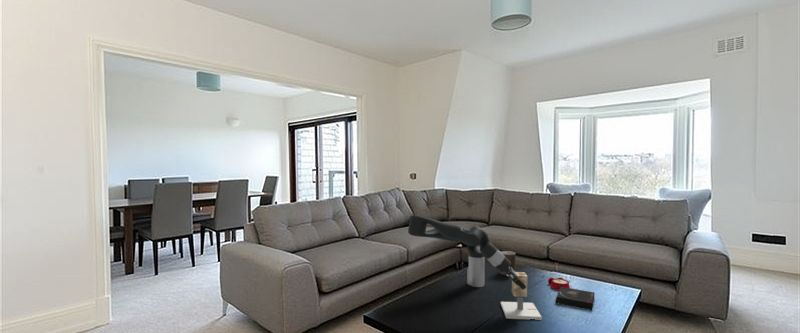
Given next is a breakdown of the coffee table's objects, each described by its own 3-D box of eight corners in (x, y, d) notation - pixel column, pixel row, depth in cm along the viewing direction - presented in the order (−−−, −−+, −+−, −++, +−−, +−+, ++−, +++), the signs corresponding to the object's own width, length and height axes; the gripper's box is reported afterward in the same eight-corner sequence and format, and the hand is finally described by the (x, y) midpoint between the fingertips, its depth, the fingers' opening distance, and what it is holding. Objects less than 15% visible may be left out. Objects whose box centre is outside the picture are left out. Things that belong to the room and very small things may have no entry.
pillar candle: (516, 276, 229) (516, 253, 229) (500, 275, 231) (500, 252, 231) (514, 272, 239) (515, 249, 239) (499, 271, 241) (499, 248, 241)
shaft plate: (506, 318, 171) (506, 302, 171) (500, 304, 187) (500, 290, 187) (541, 320, 170) (541, 304, 169) (532, 305, 186) (533, 291, 185)
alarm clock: (556, 285, 204) (545, 271, 218) (555, 295, 206) (544, 280, 220) (574, 285, 204) (562, 271, 219) (573, 295, 206) (560, 280, 220)
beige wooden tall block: (514, 296, 175) (514, 275, 175) (511, 291, 181) (512, 271, 181) (526, 297, 174) (527, 275, 174) (524, 292, 180) (524, 271, 180)
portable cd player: (559, 293, 203) (559, 286, 203) (594, 299, 194) (594, 292, 194) (555, 304, 189) (555, 296, 189) (592, 311, 180) (592, 303, 180)
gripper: (491, 261, 186) (514, 285, 185) (494, 270, 172) (520, 296, 171) (501, 251, 185) (525, 275, 184) (506, 259, 171) (532, 286, 170)
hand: (523, 285), depth 177 cm, fingers closed on beige wooden tall block, 6 cm apart
